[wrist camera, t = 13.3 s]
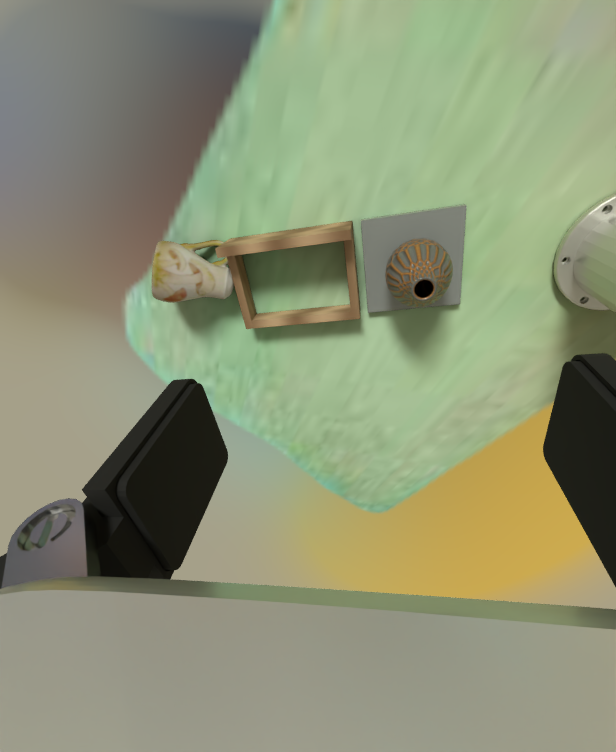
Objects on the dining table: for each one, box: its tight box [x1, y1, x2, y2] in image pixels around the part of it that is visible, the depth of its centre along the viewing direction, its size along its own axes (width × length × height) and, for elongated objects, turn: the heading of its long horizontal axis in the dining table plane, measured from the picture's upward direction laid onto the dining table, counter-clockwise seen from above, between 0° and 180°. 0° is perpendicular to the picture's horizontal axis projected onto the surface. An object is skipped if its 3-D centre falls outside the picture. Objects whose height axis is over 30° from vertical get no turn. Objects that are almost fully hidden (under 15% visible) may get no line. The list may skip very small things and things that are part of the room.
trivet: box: [361, 204, 466, 313], centre depth 42 cm, size 11×11×1 cm
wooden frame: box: [215, 221, 360, 329], centre depth 43 cm, size 15×11×5 cm
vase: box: [385, 238, 453, 307], centre depth 38 cm, size 7×7×9 cm
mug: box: [152, 240, 234, 302], centre depth 44 cm, size 8×10×10 cm
